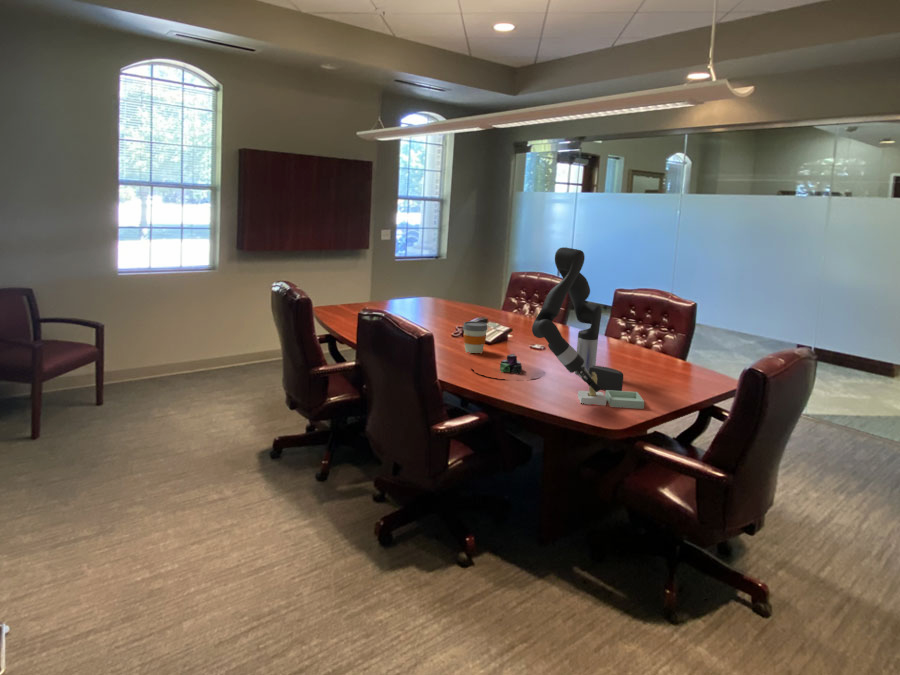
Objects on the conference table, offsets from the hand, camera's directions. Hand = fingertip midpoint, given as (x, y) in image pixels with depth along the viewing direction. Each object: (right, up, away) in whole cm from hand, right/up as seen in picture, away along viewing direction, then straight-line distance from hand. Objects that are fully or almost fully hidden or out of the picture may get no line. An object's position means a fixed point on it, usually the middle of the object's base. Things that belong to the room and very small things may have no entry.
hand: (597, 389), depth 263 cm
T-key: (-2, -4, +1) cm, 5 cm away
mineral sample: (-33, +5, +42) cm, 53 cm away
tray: (+11, -5, 0) cm, 12 cm away
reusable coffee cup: (-47, +13, +76) cm, 90 cm away
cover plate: (-2, -5, +1) cm, 5 cm away
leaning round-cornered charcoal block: (+7, -2, +17) cm, 19 cm away
